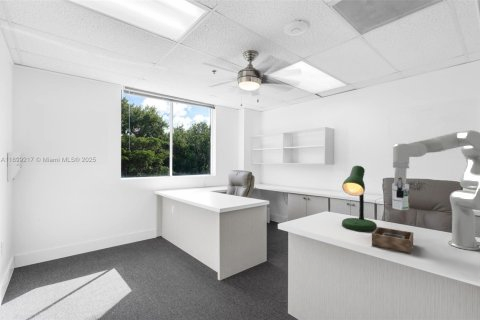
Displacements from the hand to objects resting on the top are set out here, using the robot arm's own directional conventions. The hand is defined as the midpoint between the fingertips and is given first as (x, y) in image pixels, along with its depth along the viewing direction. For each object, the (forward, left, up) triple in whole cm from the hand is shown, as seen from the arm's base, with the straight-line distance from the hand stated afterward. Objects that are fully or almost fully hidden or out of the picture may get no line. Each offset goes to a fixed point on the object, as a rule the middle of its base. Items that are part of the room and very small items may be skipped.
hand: (400, 196), depth 131 cm
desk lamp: (+28, -23, -28) cm, 46 cm away
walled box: (+4, 0, -28) cm, 29 cm away
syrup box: (0, 0, -7) cm, 7 cm away
